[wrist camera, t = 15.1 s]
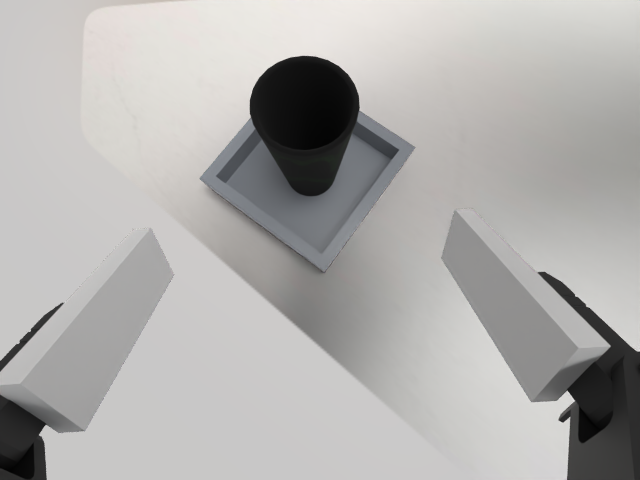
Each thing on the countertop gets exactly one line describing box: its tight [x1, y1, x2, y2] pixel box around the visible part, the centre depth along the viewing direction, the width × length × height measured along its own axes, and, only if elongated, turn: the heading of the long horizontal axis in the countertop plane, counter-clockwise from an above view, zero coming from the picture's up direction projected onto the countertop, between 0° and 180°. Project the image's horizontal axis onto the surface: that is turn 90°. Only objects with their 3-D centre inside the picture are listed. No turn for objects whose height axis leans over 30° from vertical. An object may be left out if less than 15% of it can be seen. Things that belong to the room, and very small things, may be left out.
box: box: [200, 111, 415, 273], centre depth 30 cm, size 16×16×4 cm
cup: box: [250, 56, 360, 196], centre depth 25 cm, size 8×8×12 cm
